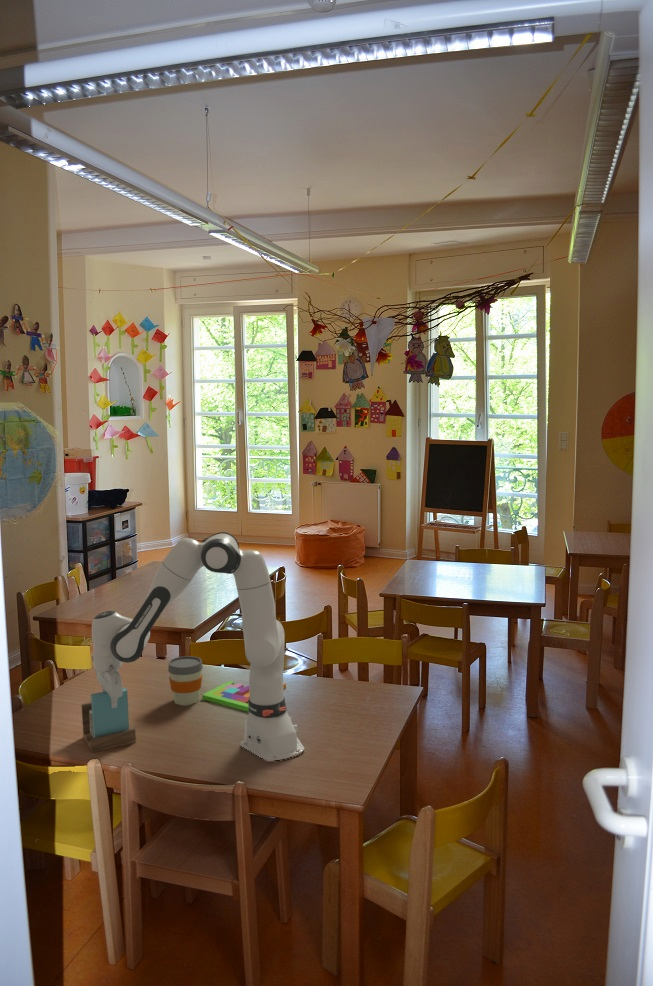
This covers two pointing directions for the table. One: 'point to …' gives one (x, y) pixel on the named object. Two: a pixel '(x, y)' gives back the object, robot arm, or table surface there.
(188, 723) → the table surface
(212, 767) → the table surface
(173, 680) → the reusable coffee cup
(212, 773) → the table surface
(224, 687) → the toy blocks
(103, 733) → the teal book
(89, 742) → the stand
